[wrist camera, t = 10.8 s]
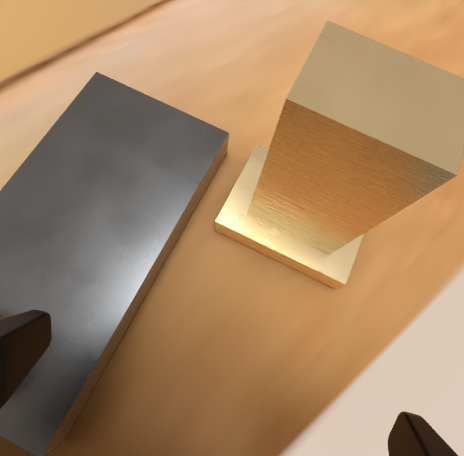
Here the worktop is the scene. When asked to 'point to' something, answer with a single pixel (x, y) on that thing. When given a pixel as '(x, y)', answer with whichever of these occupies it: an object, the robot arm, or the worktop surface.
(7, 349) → the robot arm
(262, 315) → the worktop surface
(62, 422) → the brushed steel slab
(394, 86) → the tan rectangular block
